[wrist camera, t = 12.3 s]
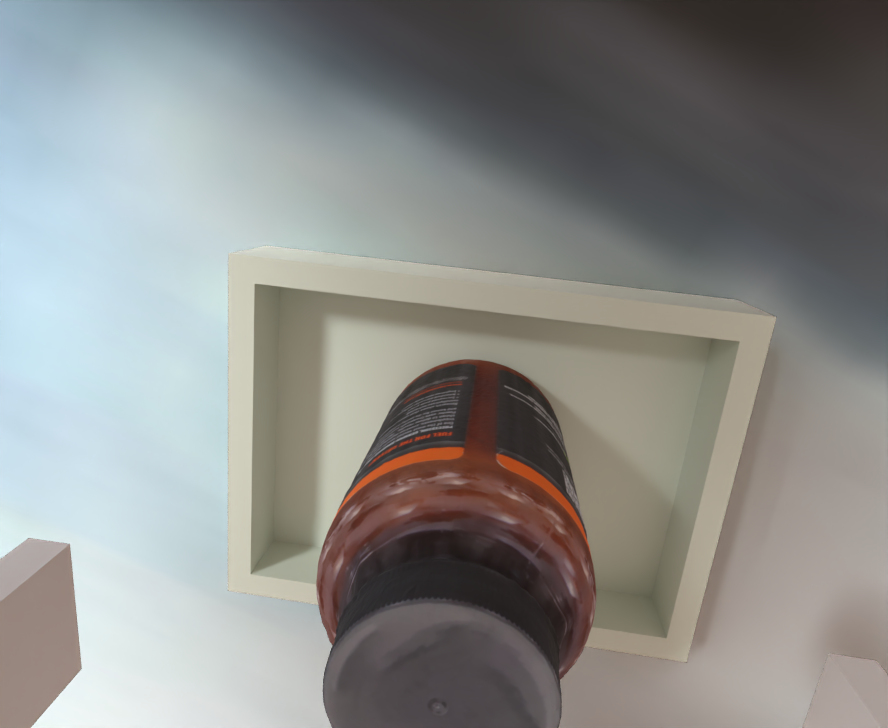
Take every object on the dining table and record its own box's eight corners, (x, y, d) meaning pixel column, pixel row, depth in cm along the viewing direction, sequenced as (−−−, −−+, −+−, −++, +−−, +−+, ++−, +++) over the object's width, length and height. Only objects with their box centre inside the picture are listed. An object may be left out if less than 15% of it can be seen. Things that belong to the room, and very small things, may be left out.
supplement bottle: (355, 452, 21) (194, 720, 10) (452, 318, 20) (382, 468, 9) (492, 546, 22) (476, 898, 11) (598, 422, 20) (706, 690, 9)
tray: (260, 544, 23) (227, 590, 21) (266, 245, 20) (228, 253, 18) (664, 604, 22) (686, 662, 20) (737, 299, 19) (776, 317, 16)
